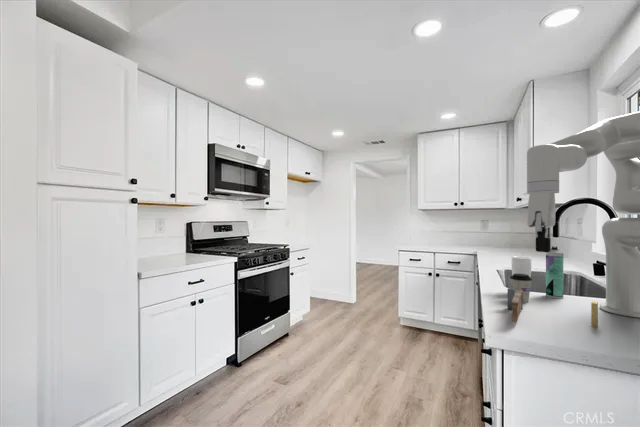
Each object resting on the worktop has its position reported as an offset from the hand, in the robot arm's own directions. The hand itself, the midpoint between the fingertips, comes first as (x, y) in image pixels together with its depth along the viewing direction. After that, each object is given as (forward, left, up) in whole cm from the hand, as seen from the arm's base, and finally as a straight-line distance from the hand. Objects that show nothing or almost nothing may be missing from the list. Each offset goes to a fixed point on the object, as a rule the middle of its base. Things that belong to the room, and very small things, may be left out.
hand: (543, 251), depth 87 cm
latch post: (-12, +10, -22) cm, 27 cm away
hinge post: (-12, -12, -22) cm, 28 cm away
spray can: (-42, -5, -22) cm, 48 cm away
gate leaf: (-4, -8, -22) cm, 23 cm away
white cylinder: (-37, -15, -22) cm, 46 cm away
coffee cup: (-25, -12, -22) cm, 36 cm away
